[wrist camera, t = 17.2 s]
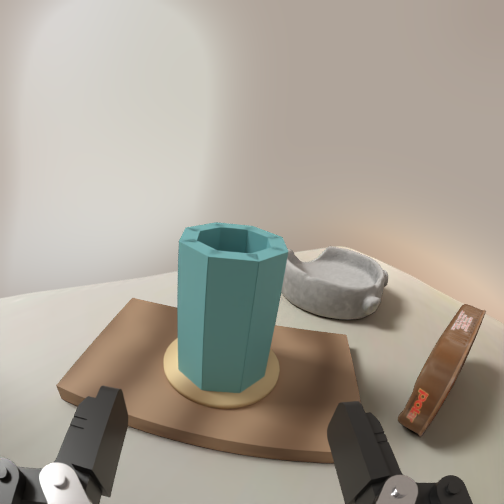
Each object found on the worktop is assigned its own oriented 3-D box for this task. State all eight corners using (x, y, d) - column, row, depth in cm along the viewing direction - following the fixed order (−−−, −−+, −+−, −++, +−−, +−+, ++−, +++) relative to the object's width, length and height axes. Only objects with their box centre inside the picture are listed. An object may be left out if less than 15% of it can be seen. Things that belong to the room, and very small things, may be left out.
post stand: (61, 398, 18) (23, 270, 14) (133, 309, 31) (129, 211, 27) (361, 463, 16) (434, 345, 12) (342, 346, 29) (371, 247, 25)
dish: (255, 290, 39) (260, 254, 37) (313, 266, 49) (319, 236, 47) (355, 343, 30) (369, 303, 28) (395, 301, 40) (405, 269, 38)
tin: (407, 456, 16) (466, 374, 13) (376, 435, 19) (425, 352, 16) (461, 368, 26) (494, 302, 23) (440, 356, 28) (470, 290, 25)
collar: (174, 387, 19) (172, 253, 16) (185, 333, 25) (189, 220, 22) (266, 394, 20) (294, 264, 16) (260, 340, 26) (278, 228, 22)
